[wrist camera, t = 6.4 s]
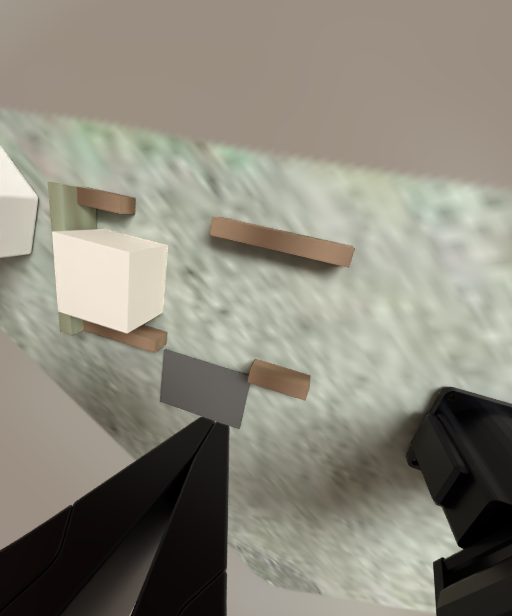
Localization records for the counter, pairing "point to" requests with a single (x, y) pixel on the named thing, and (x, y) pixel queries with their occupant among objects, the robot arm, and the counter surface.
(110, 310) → the block
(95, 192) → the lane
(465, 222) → the counter surface
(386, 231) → the counter surface
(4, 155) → the jar
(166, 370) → the mat
